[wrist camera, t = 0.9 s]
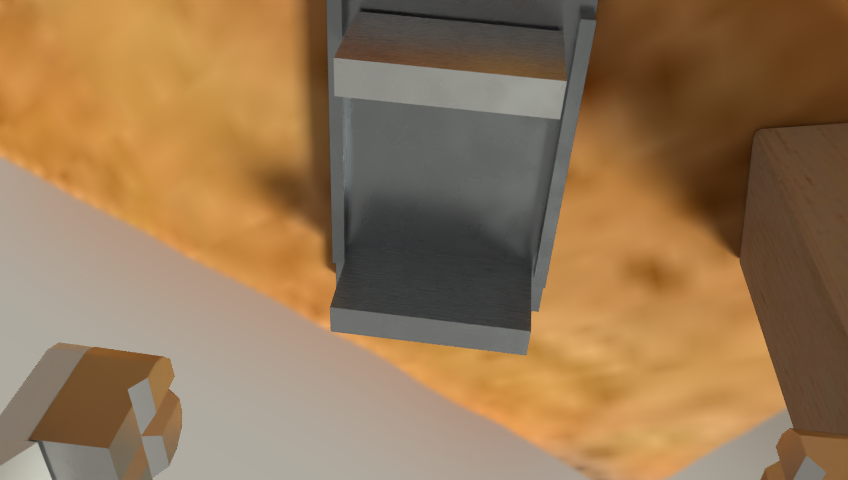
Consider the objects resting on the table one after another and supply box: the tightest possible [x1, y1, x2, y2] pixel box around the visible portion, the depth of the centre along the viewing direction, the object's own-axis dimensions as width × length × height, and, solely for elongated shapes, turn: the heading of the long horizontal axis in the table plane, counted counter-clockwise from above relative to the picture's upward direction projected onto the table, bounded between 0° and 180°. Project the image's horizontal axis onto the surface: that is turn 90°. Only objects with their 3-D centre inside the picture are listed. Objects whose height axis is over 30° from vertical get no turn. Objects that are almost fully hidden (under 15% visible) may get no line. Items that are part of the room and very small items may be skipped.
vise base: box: [326, 0, 598, 355], centre depth 45 cm, size 22×14×8 cm, turn 177°
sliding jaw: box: [334, 11, 567, 119], centre depth 40 cm, size 2×11×6 cm, turn 87°
